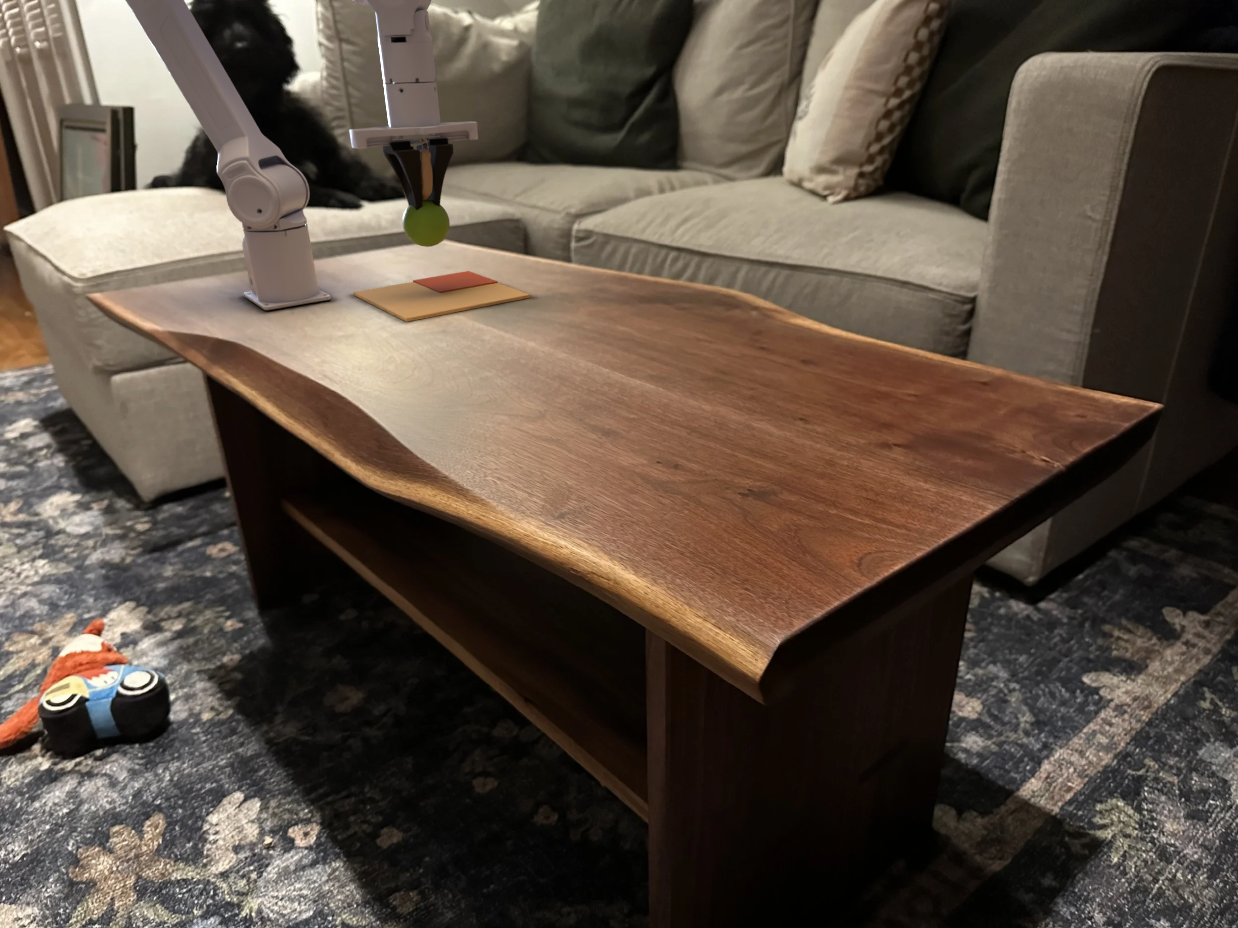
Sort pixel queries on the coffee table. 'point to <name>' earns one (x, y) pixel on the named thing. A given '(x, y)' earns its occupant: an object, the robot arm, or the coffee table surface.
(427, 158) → the snail figurine
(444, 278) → the corner mat
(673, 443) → the coffee table surface
